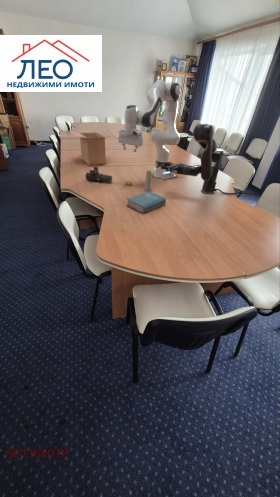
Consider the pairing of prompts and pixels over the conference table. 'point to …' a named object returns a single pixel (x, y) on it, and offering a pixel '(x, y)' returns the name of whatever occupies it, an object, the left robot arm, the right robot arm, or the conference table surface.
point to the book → (146, 201)
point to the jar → (148, 180)
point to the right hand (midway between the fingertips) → (163, 165)
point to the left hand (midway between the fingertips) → (129, 150)
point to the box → (92, 146)
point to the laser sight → (98, 176)
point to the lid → (128, 182)
